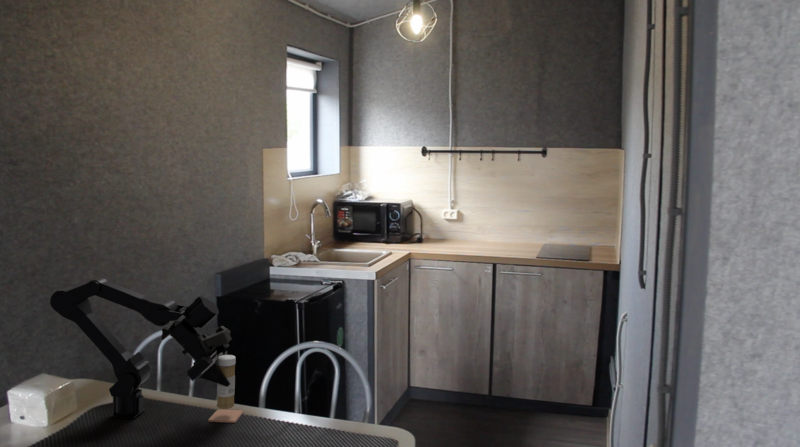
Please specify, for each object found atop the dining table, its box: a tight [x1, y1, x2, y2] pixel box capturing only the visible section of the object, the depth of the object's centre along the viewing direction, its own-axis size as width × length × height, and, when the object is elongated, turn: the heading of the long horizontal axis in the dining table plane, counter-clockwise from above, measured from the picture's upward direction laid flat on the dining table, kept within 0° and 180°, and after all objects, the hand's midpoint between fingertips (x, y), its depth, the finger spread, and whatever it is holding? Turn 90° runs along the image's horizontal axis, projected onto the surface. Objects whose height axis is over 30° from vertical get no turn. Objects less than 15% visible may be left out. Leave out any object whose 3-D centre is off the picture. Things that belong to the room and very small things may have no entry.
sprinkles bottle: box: [216, 354, 237, 410], centre depth 157 cm, size 5×5×14 cm
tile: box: [208, 408, 244, 424], centre depth 157 cm, size 7×7×1 cm
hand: (231, 382), depth 157 cm, fingers closed on sprinkles bottle, 4 cm apart
